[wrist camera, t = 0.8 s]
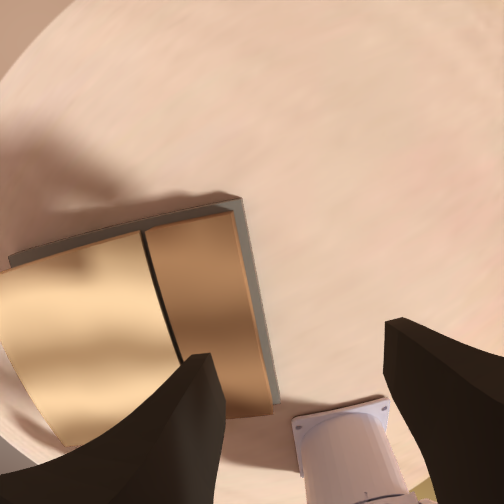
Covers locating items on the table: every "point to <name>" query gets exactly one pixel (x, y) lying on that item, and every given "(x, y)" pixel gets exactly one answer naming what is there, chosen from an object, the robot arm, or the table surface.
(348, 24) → the table surface
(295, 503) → the table surface
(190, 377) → the robot arm
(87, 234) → the rubber mat
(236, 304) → the brown curved block
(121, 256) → the oak plank
